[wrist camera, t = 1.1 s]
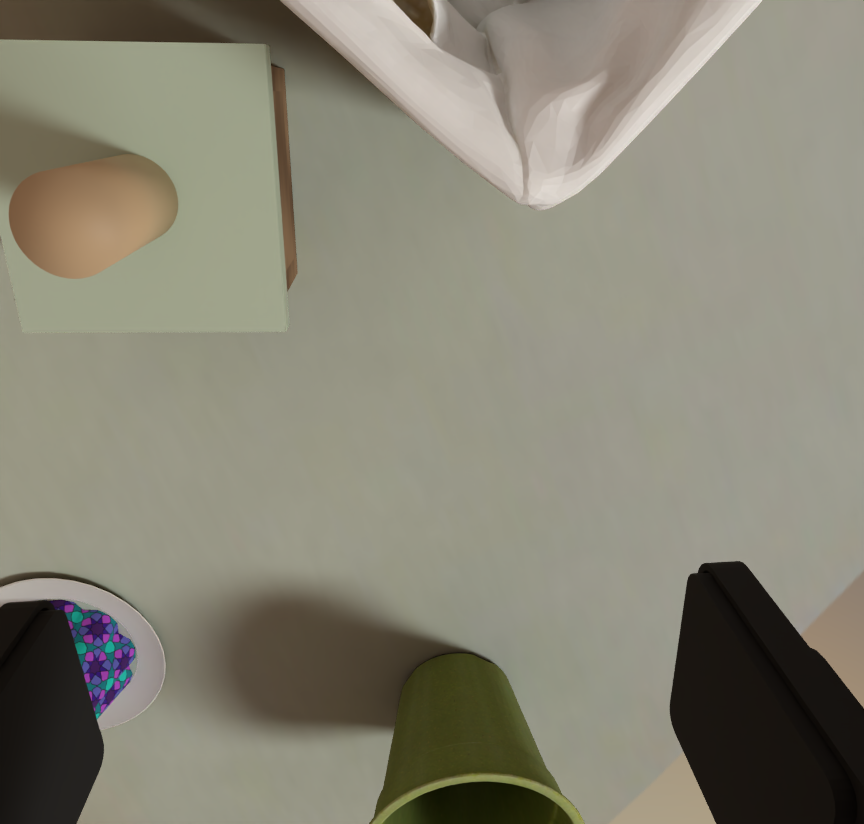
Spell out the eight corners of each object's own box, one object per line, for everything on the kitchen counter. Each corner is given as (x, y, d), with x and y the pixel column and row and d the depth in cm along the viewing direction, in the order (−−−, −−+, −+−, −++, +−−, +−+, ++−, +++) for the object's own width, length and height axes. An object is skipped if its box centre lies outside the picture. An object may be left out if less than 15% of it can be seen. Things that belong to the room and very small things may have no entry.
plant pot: (581, 696, 47) (633, 864, 37) (441, 781, 50) (454, 960, 39) (472, 587, 43) (498, 740, 33) (327, 685, 46) (307, 857, 35)
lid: (-10, 43, 25) (-181, 20, 18) (274, 48, 26) (226, 27, 18) (48, 316, 29) (-71, 392, 22) (293, 316, 30) (259, 389, 22)
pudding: (114, 748, 47) (83, 821, 42) (-66, 670, 44) (-122, 740, 39) (204, 629, 44) (181, 695, 39) (16, 536, 40) (-34, 594, 36)
